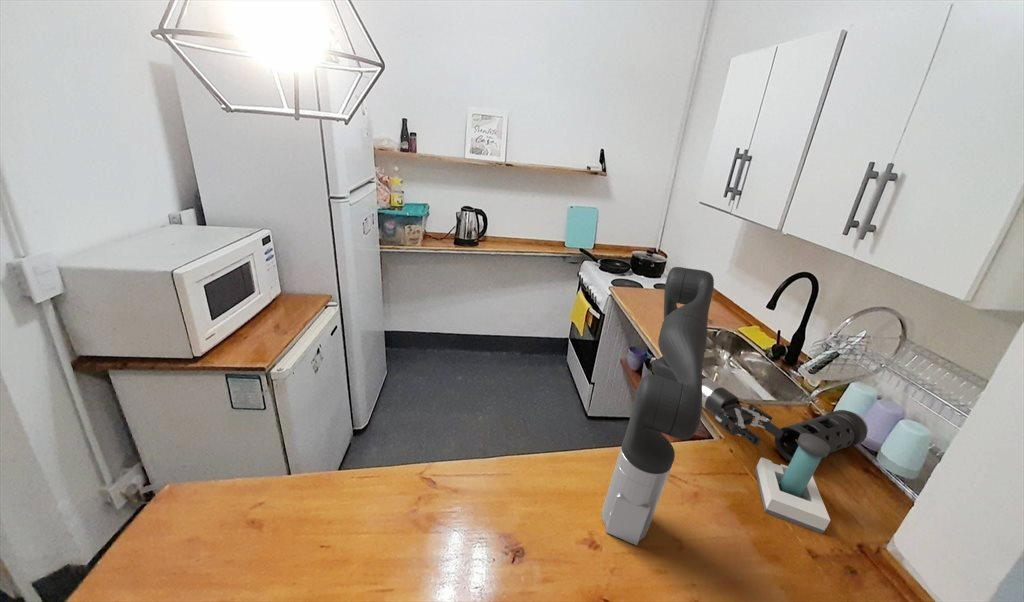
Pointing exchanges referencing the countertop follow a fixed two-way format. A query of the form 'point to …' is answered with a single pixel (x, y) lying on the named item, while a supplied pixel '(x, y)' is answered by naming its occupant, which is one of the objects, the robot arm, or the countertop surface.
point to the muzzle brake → (825, 432)
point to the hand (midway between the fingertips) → (770, 438)
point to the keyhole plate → (790, 498)
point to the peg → (803, 464)
